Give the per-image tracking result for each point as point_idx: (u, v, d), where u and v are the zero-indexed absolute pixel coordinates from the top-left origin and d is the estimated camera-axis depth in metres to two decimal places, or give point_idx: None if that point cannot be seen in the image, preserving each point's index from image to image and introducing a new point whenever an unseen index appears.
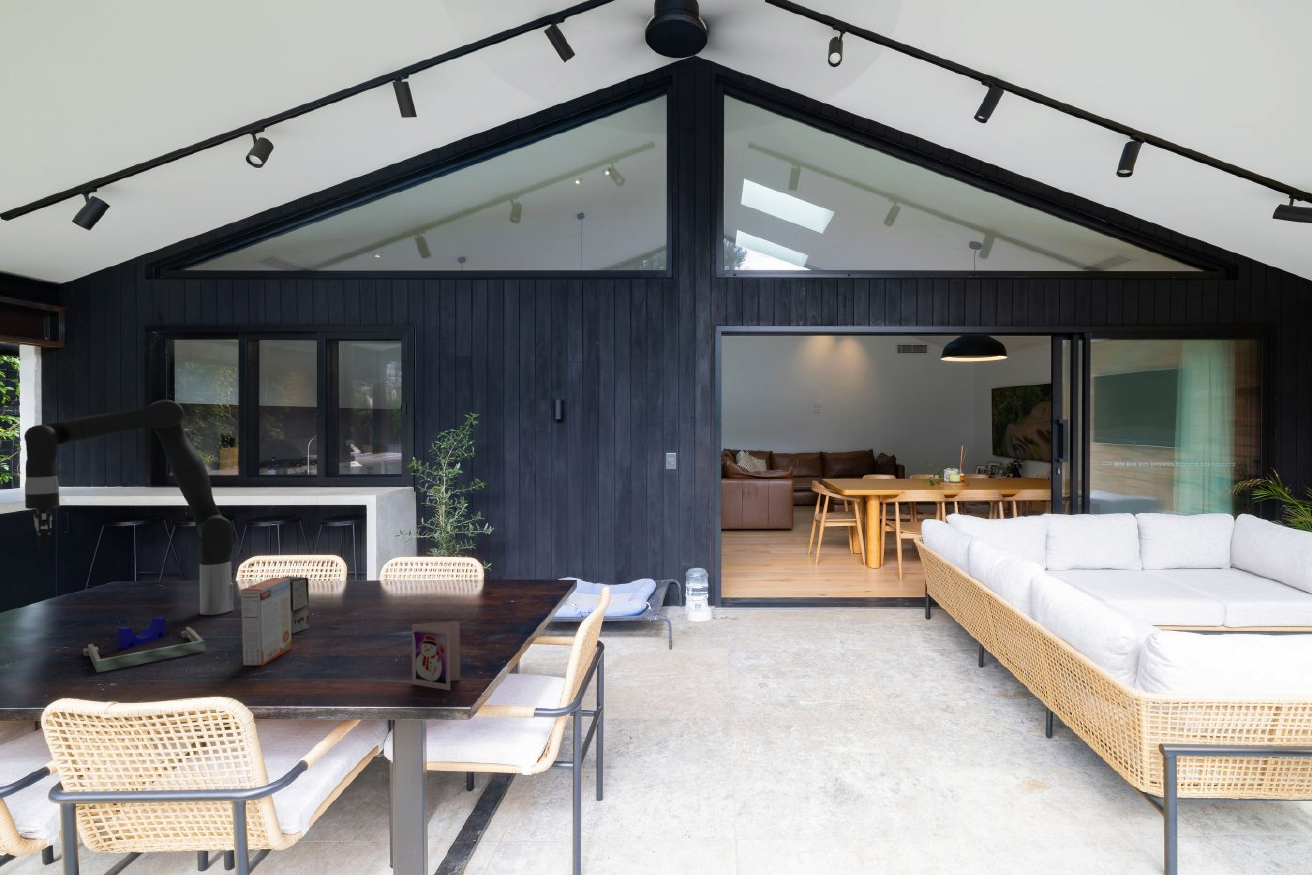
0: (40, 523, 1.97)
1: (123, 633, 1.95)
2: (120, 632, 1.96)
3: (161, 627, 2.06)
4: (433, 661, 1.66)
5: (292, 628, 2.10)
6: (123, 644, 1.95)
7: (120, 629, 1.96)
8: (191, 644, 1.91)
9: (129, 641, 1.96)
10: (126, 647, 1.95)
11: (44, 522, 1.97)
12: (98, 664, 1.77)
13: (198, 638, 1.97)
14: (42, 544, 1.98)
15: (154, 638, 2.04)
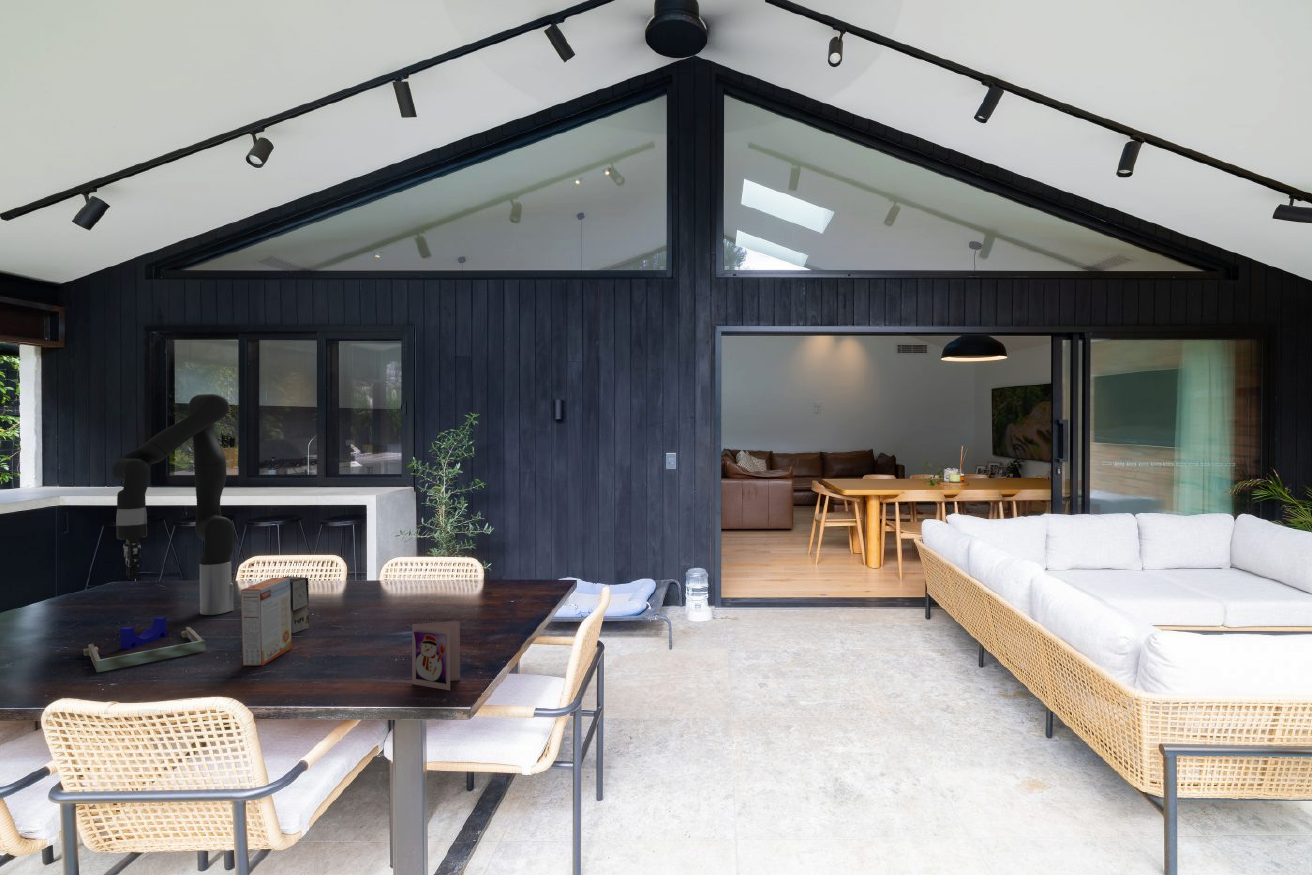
0: (131, 557, 2.06)
1: (125, 633, 1.95)
2: (122, 632, 1.95)
3: (163, 627, 2.06)
4: (433, 661, 1.66)
5: (292, 628, 2.10)
6: (125, 644, 1.95)
7: (122, 629, 1.95)
8: (191, 644, 1.91)
9: (131, 641, 1.96)
10: (128, 647, 1.95)
11: (135, 556, 2.06)
12: (98, 664, 1.77)
13: (198, 638, 1.97)
14: (132, 576, 2.08)
15: (156, 638, 2.03)
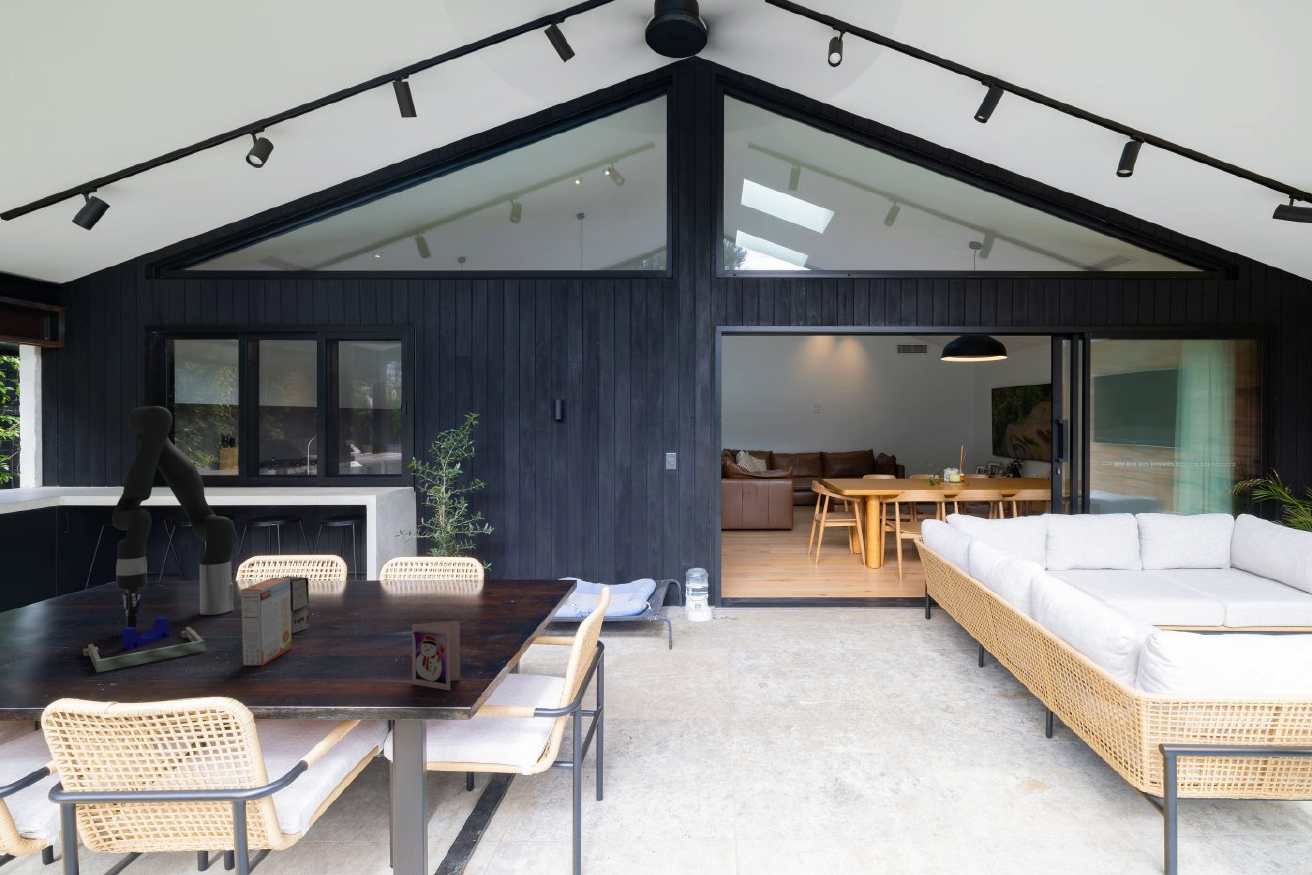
0: (130, 609, 2.07)
1: (127, 633, 1.95)
2: (124, 632, 1.95)
3: (164, 627, 2.06)
4: (433, 661, 1.66)
5: (292, 628, 2.10)
6: (127, 644, 1.95)
7: (124, 629, 1.95)
8: (191, 644, 1.91)
9: (133, 641, 1.96)
10: (130, 647, 1.95)
11: (134, 608, 2.07)
12: (98, 664, 1.77)
13: (198, 638, 1.97)
14: (130, 625, 2.09)
15: (158, 638, 2.03)
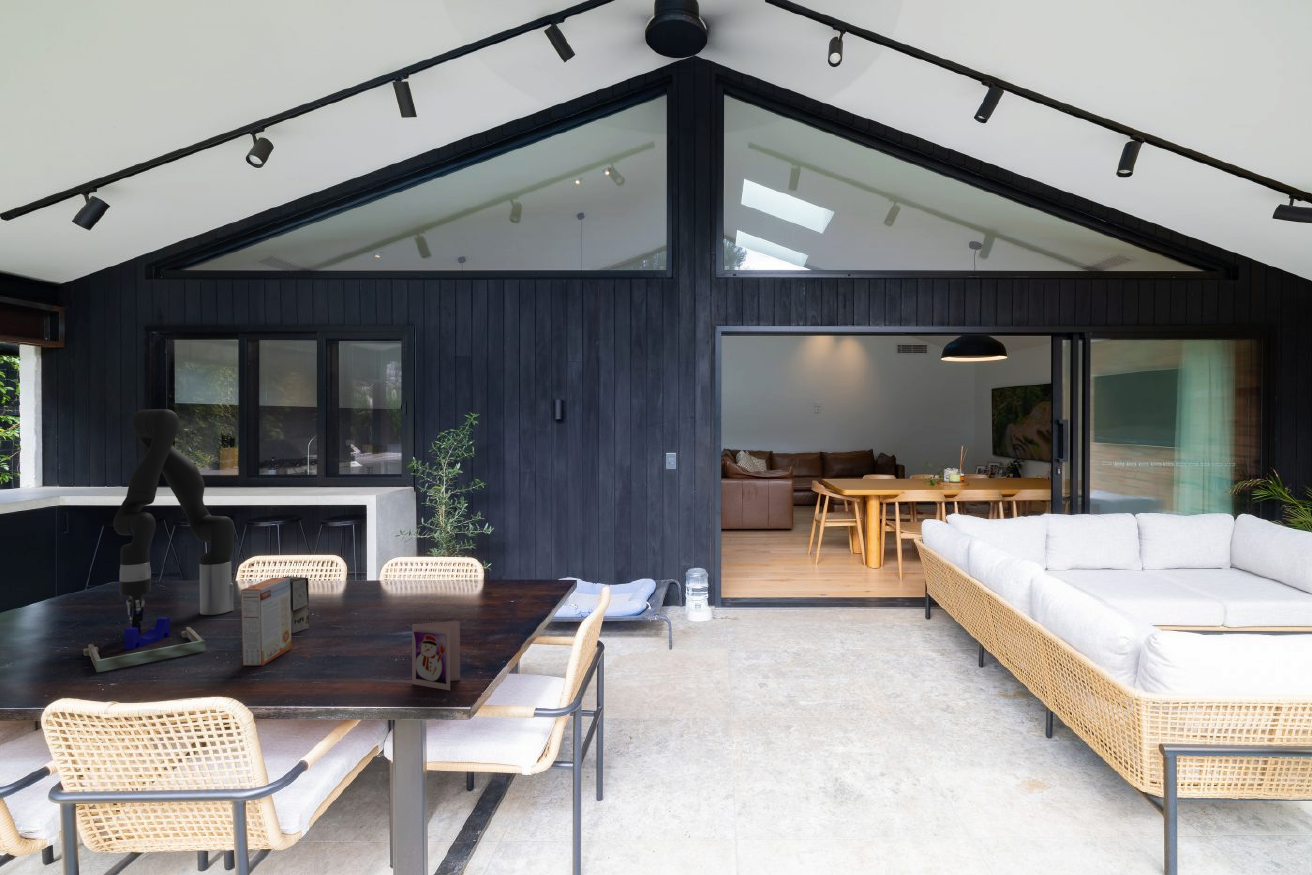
0: (134, 616, 2.01)
1: (129, 633, 1.95)
2: (126, 632, 1.95)
3: (166, 627, 2.06)
4: (433, 661, 1.66)
5: (292, 628, 2.10)
6: (129, 644, 1.95)
7: (126, 629, 1.95)
8: (191, 644, 1.91)
9: (135, 641, 1.96)
10: (132, 647, 1.95)
11: (138, 615, 2.02)
12: (98, 664, 1.77)
13: (198, 638, 1.97)
14: None
15: (159, 638, 2.03)
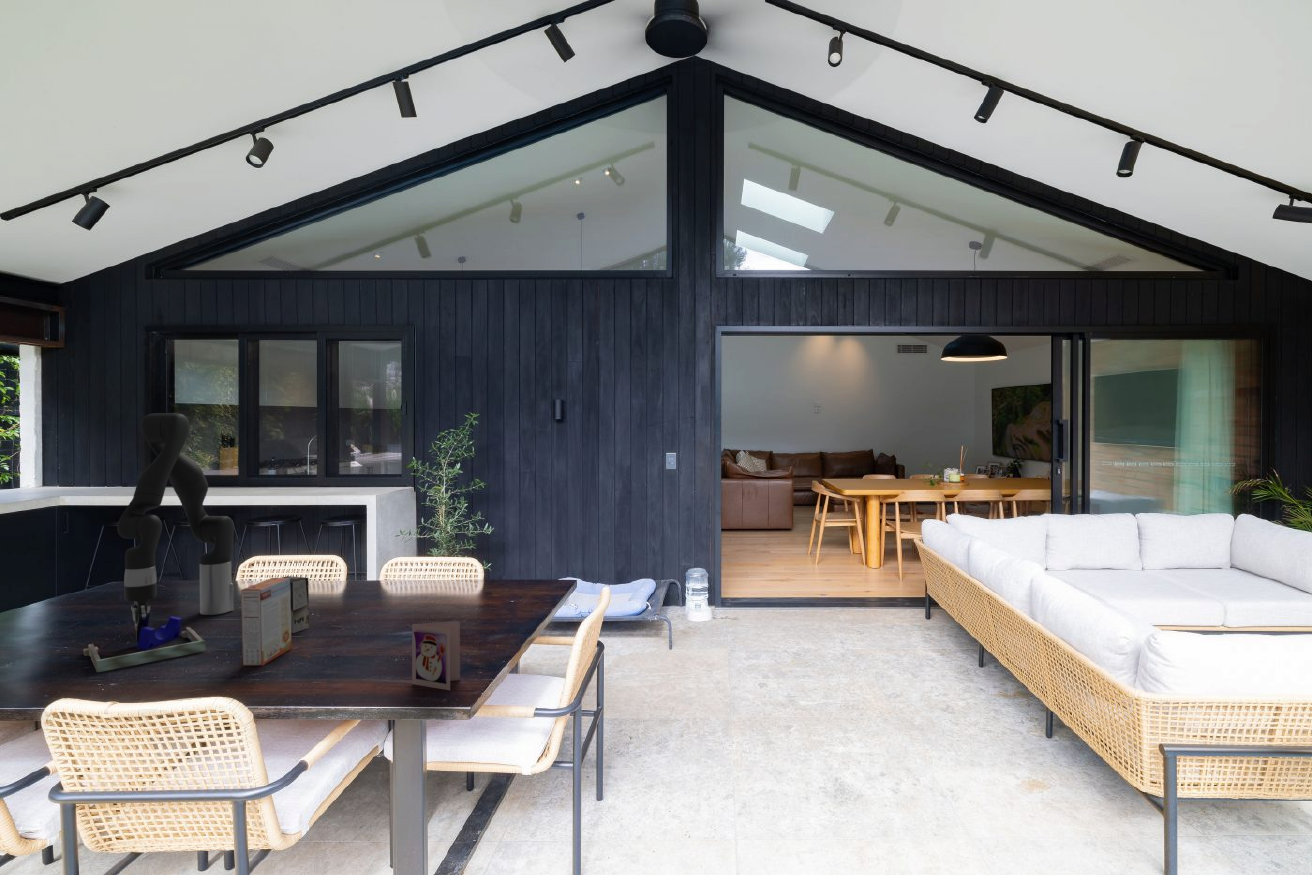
0: (139, 622, 1.95)
1: (145, 633, 1.94)
2: (142, 632, 1.94)
3: (177, 628, 2.05)
4: (433, 661, 1.66)
5: (292, 628, 2.10)
6: (143, 644, 1.94)
7: (143, 629, 1.94)
8: (191, 644, 1.91)
9: (150, 642, 1.95)
10: (146, 648, 1.94)
11: (143, 621, 1.95)
12: (98, 664, 1.77)
13: (198, 638, 1.97)
14: None
15: (169, 639, 2.03)
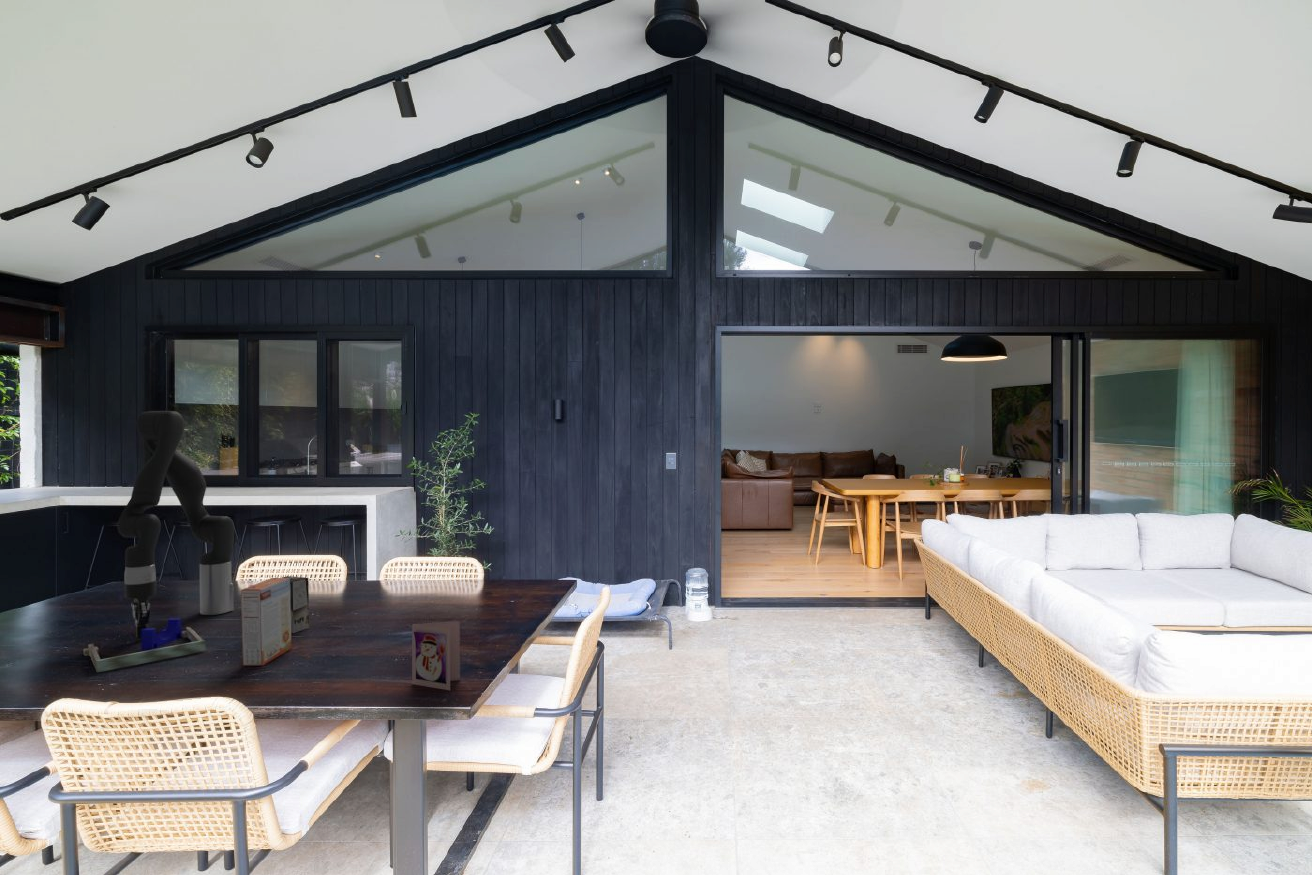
0: (140, 619, 1.99)
1: (147, 634, 1.94)
2: (143, 634, 1.94)
3: (178, 628, 2.05)
4: (433, 661, 1.66)
5: (292, 628, 2.10)
6: (147, 645, 1.94)
7: (143, 630, 1.94)
8: (191, 644, 1.91)
9: (153, 642, 1.95)
10: (151, 648, 1.94)
11: (144, 618, 1.99)
12: (98, 664, 1.77)
13: (198, 638, 1.97)
14: (140, 635, 2.02)
15: (173, 639, 2.03)
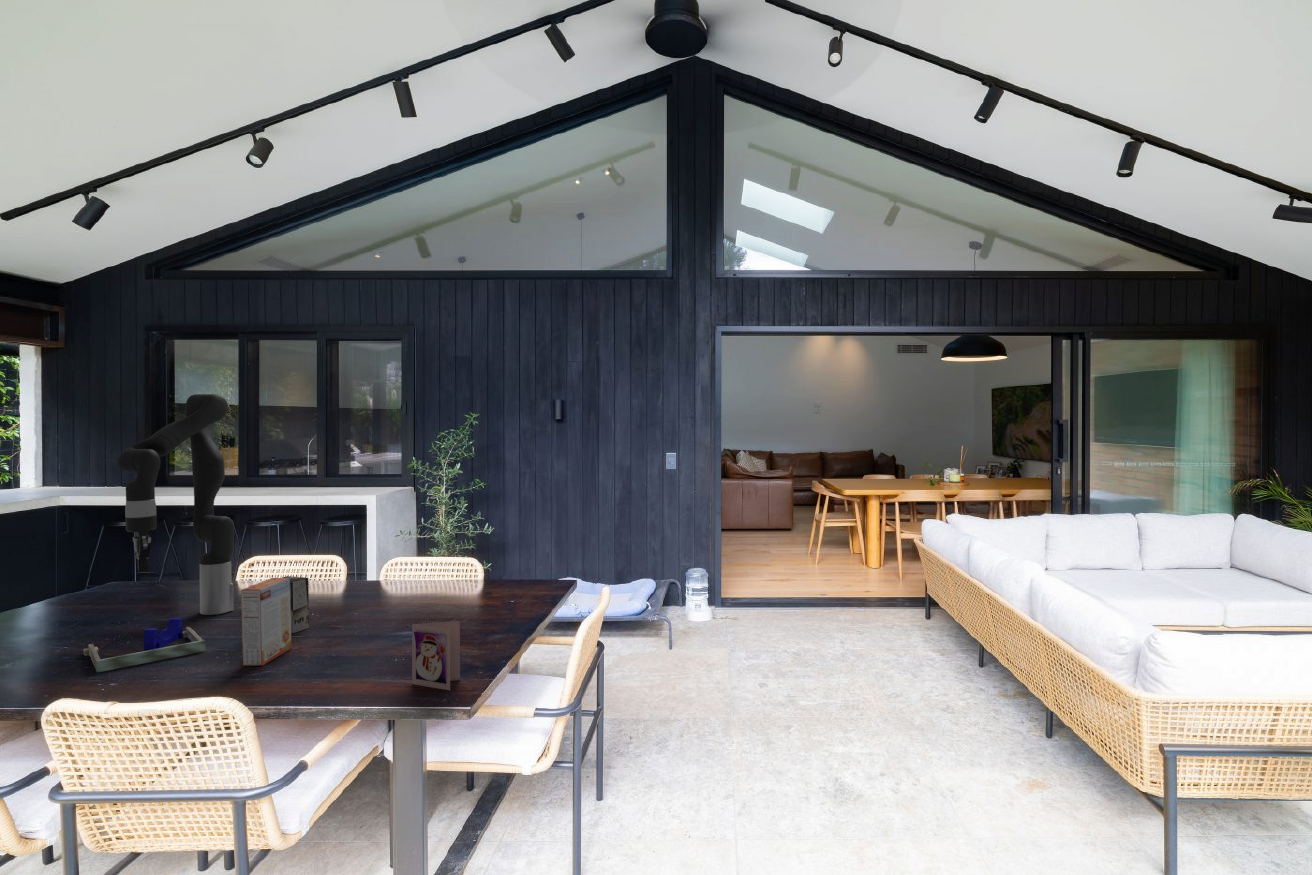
0: (141, 552, 2.02)
1: (149, 634, 1.94)
2: (146, 633, 1.94)
3: (179, 628, 2.05)
4: (433, 661, 1.66)
5: (292, 628, 2.10)
6: (149, 645, 1.94)
7: (146, 630, 1.94)
8: (191, 644, 1.91)
9: (156, 642, 1.95)
10: (153, 648, 1.94)
11: (145, 551, 2.02)
12: (98, 664, 1.77)
13: (198, 638, 1.97)
14: (141, 568, 2.04)
15: (174, 639, 2.03)
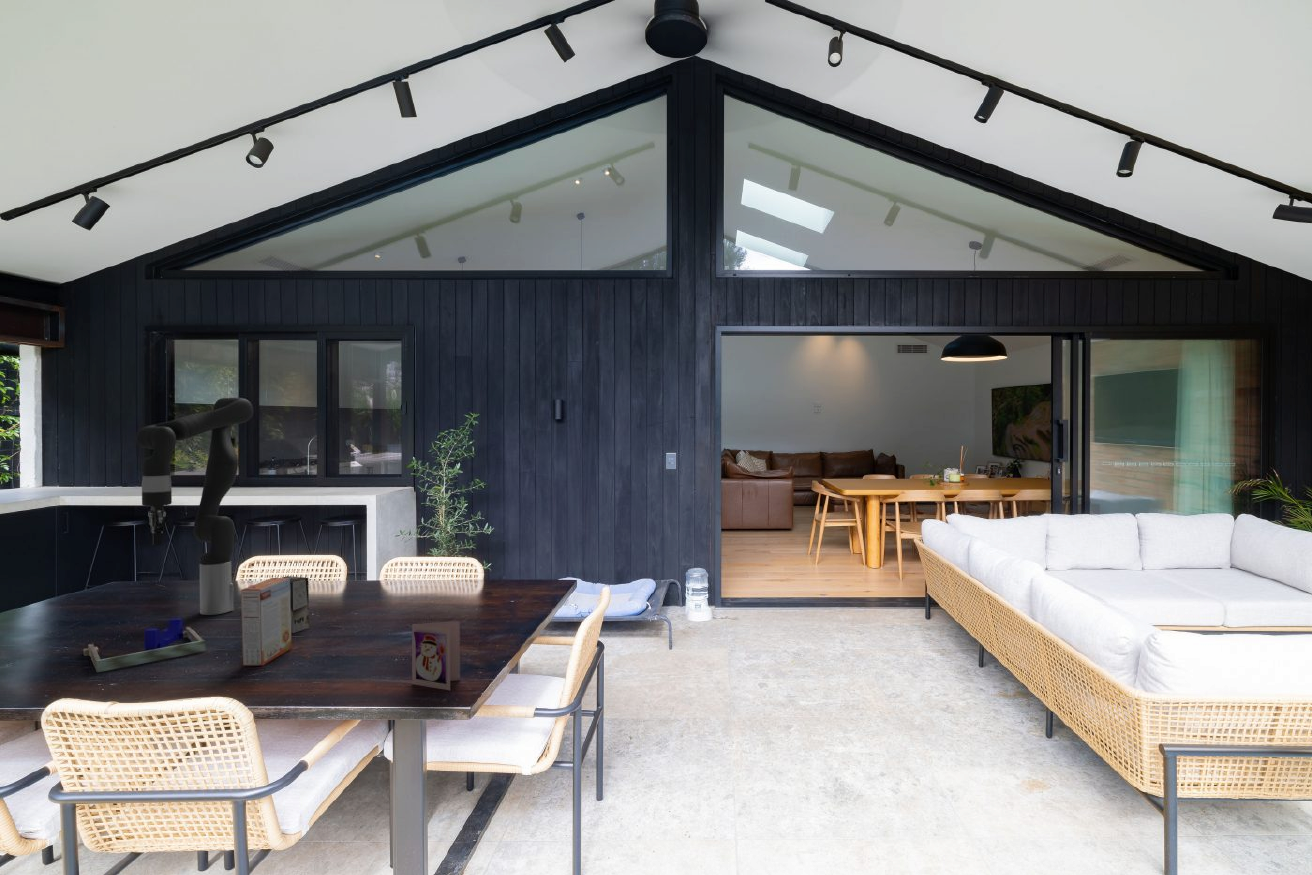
0: (156, 525, 2.09)
1: (151, 635, 1.94)
2: (147, 634, 1.94)
3: (180, 628, 2.05)
4: (433, 661, 1.66)
5: (292, 628, 2.10)
6: (151, 645, 1.94)
7: (147, 631, 1.94)
8: (191, 644, 1.91)
9: (157, 642, 1.95)
10: (154, 648, 1.94)
11: (160, 525, 2.09)
12: (98, 664, 1.77)
13: (198, 638, 1.97)
14: (156, 542, 2.11)
15: (175, 639, 2.02)
